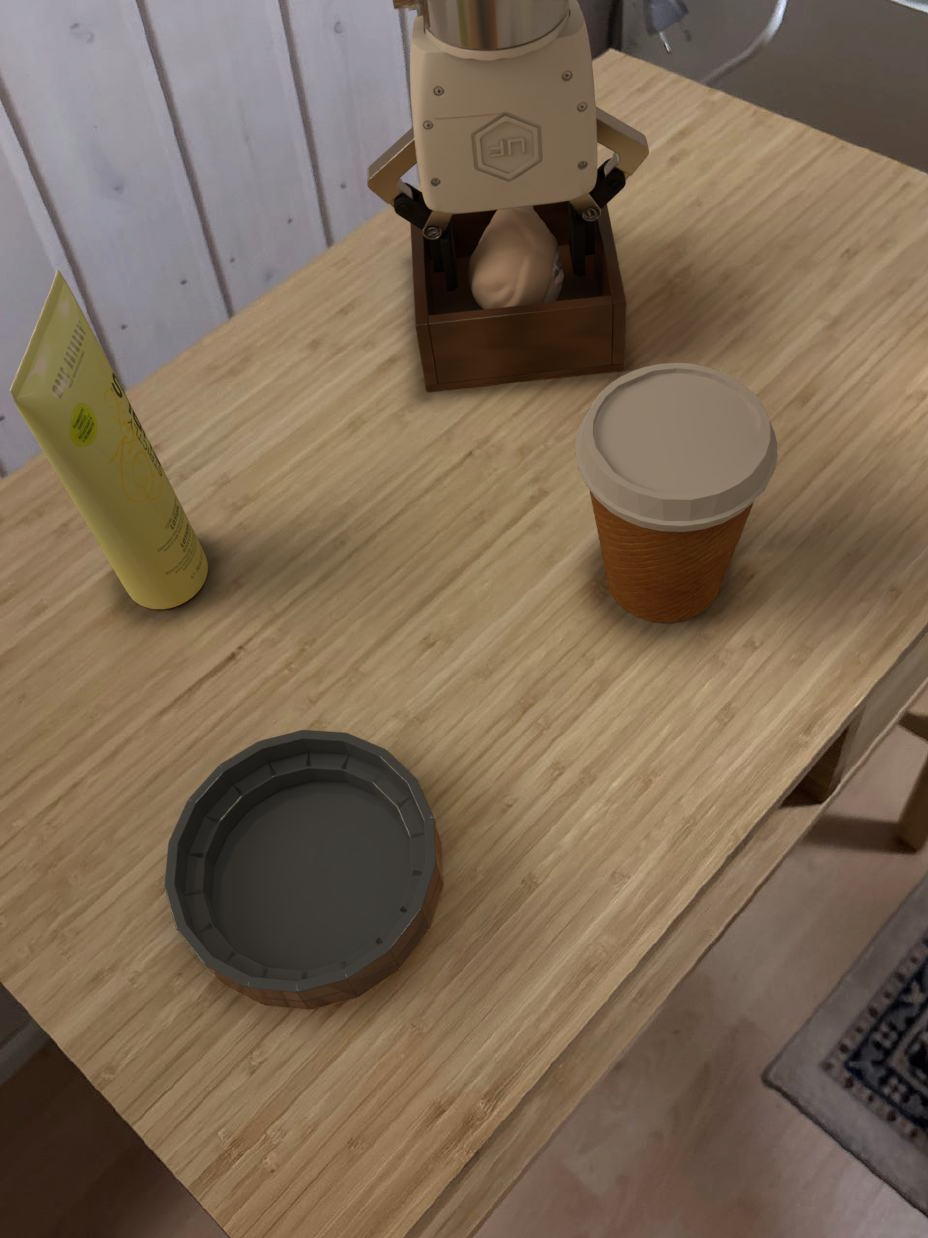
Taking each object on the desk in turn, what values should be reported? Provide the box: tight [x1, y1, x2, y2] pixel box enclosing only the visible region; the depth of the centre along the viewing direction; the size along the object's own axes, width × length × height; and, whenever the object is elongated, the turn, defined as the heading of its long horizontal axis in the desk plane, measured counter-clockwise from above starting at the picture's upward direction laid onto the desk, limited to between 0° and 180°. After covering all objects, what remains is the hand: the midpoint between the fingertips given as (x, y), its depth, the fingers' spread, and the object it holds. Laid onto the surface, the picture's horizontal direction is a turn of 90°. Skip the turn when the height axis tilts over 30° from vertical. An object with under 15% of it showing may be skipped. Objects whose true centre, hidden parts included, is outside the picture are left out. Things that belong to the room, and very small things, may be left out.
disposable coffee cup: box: [574, 362, 779, 624], centre depth 59 cm, size 10×10×12 cm
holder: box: [409, 201, 627, 392], centre depth 74 cm, size 13×13×6 cm
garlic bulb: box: [468, 206, 564, 309], centre depth 72 cm, size 7×6×8 cm
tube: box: [9, 269, 209, 610], centre depth 58 cm, size 6×5×20 cm
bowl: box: [164, 729, 444, 1011], centre depth 54 cm, size 13×13×4 cm
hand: (514, 267), depth 73 cm, fingers open, 7 cm apart
